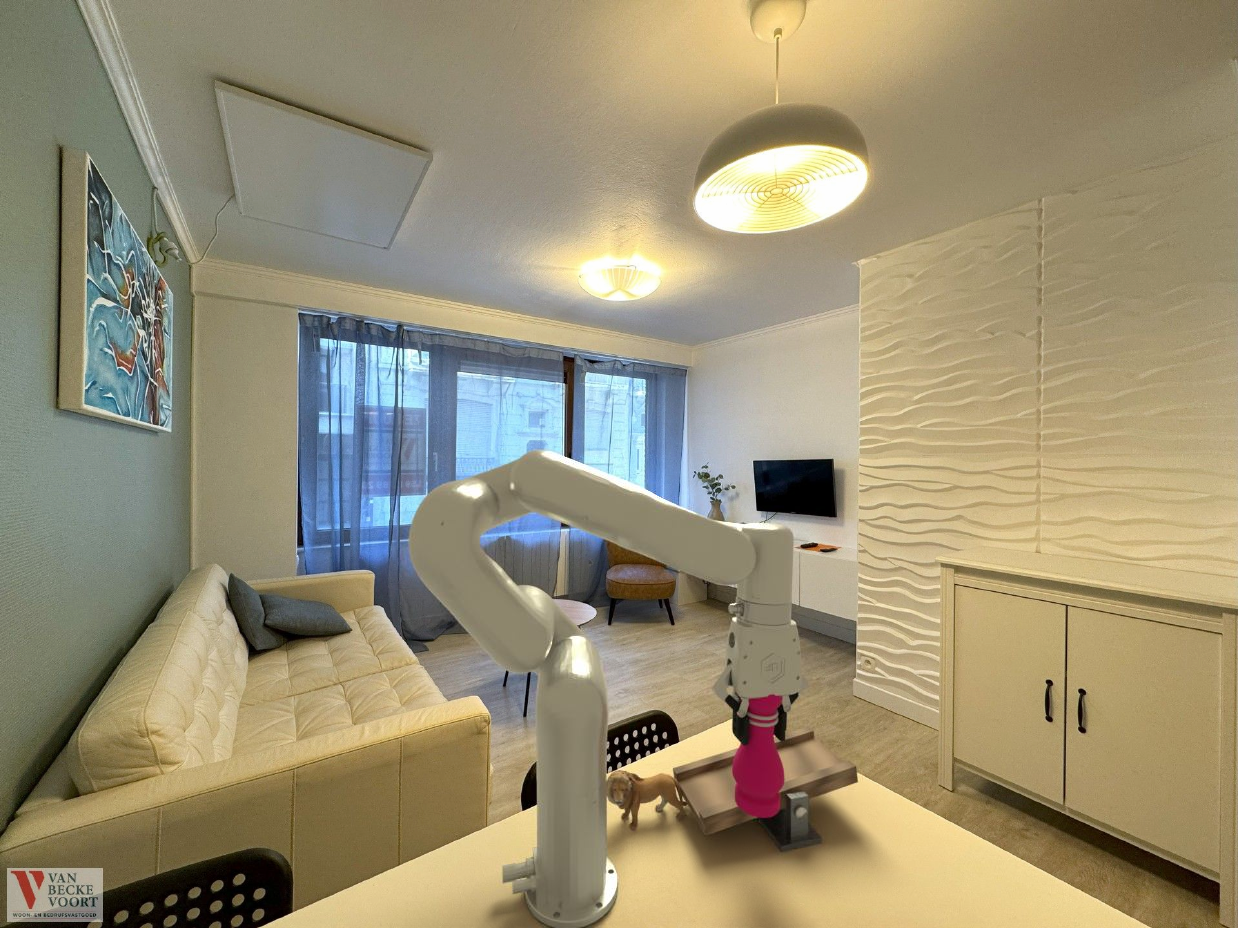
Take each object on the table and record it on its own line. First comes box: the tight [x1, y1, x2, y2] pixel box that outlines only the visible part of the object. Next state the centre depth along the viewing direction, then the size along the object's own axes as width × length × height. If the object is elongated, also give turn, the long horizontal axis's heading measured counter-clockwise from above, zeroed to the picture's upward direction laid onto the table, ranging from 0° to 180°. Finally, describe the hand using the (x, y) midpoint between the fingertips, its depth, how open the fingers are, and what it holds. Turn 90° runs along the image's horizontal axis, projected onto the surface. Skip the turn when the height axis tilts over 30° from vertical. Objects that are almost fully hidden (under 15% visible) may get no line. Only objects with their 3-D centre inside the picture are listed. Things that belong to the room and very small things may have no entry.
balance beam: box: [672, 726, 859, 836], centre depth 85 cm, size 27×13×3 cm, turn 105°
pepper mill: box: [732, 694, 785, 818], centre depth 72 cm, size 7×7×20 cm
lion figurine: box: [607, 769, 688, 831], centre depth 83 cm, size 15×5×9 cm, turn 114°
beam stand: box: [740, 742, 823, 852], centre depth 85 cm, size 7×17×7 cm, turn 15°
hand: (759, 736), depth 72 cm, fingers closed on pepper mill, 5 cm apart
